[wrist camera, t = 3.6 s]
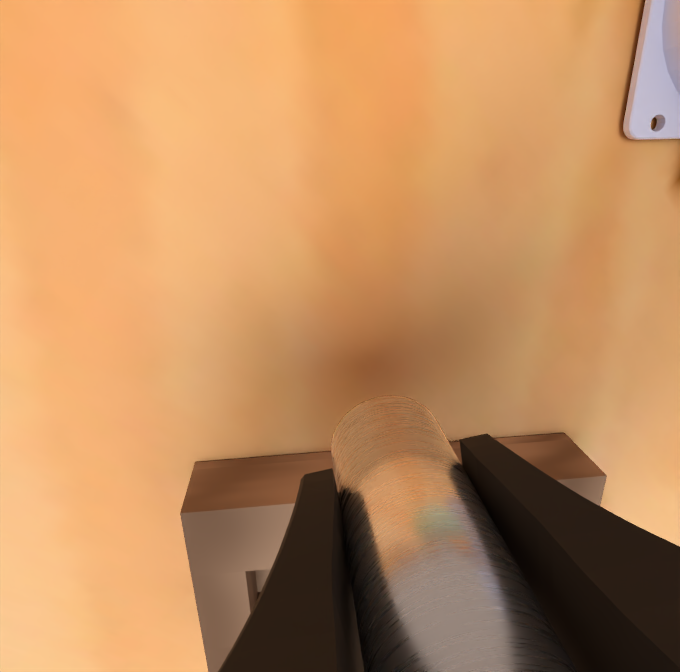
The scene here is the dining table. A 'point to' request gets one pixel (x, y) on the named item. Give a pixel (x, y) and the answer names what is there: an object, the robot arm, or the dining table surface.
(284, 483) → the hole block
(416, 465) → the pin
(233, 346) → the dining table surface
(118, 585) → the dining table surface
